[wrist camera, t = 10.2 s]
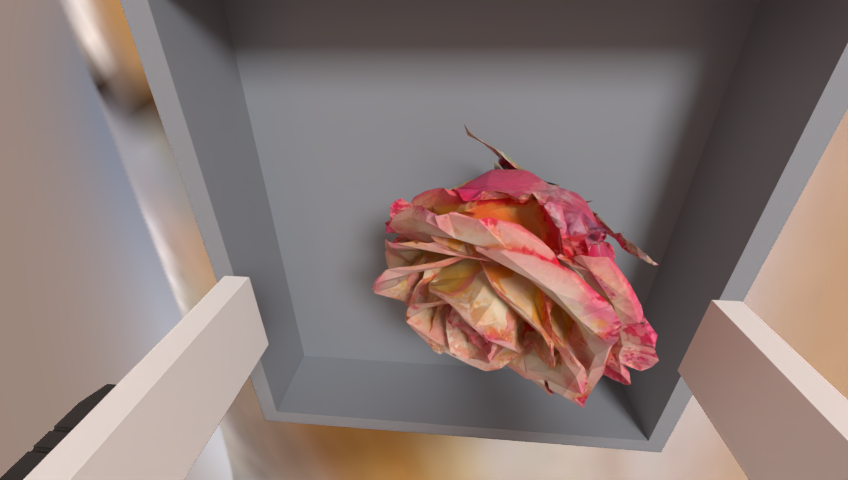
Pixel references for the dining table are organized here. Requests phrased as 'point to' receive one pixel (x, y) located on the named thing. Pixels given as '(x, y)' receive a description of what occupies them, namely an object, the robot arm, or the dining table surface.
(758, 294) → the dining table surface
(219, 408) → the robot arm
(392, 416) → the bin
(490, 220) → the flower
